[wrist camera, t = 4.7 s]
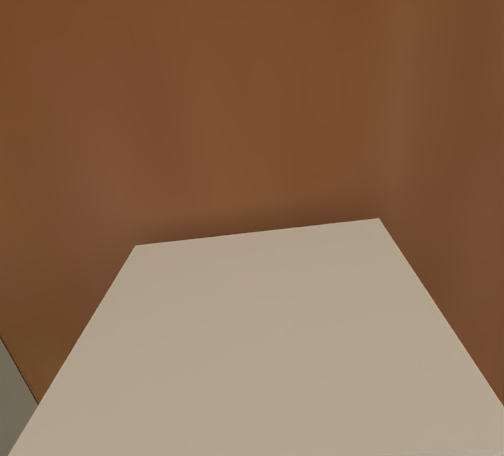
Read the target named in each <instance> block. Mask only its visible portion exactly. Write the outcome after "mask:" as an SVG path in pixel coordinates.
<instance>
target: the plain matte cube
mask: <svg viewBox="0 0 504 456" xmlns="http://www.w3.org/2000/svg"><path fill="white" fill-rule="evenodd" d="M37 407H38V404H37V402H36V401H35V399H34V397H33V395H32V393H31V392H30V390H29V388H28V386H27V385H26V383H25V381H24V379H23V378H22V376H21V374H20V372H19V370H18V369H17V367H16V365H15V363H14V362H13V360H12V358H11V356H10V354H9V353H8V351H7V349H6V347H5V346H4V344H3V342H2V340H1V339H0V456H8V455H9V453H10V451H11V450H12V448H13V446H14V445H15V443H16V442H17V440H18V438H19V437H20V435H21V433H22V432H23V430H24V428H25V427H26V425H27V423H28V422H29V420H30V418H31V417H32V415H33V414H34V412H35V410H36V409H37Z"/></svg>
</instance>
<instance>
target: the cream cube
mask: <svg viewBox="0 0 504 456" xmlns="http://www.w3.org/2000/svg"><path fill="white" fill-rule="evenodd" d="M8 456H504V407H503V405H502V404H501V402H500V401H499V399H498V398H497V396H496V395H495V393H494V392H493V390H492V388H491V387H490V385H489V384H488V382H487V381H486V379H485V378H484V376H483V375H482V373H481V372H480V370H479V369H478V367H477V366H476V364H475V363H474V361H473V360H472V358H471V357H470V355H469V354H468V352H467V351H466V349H465V348H464V346H463V345H462V343H461V342H460V340H459V339H458V337H457V336H456V334H455V333H454V331H453V330H452V328H451V327H450V325H449V324H448V322H447V321H446V319H445V317H444V316H443V314H442V313H441V311H440V310H439V308H438V307H437V305H436V304H435V302H434V301H433V299H432V298H431V296H430V295H429V293H428V292H427V290H426V289H425V287H424V286H423V284H422V283H421V281H420V280H419V278H418V277H417V275H416V274H415V272H414V271H413V269H412V268H411V266H410V265H409V263H408V262H407V260H406V259H405V257H404V256H403V254H402V253H401V251H400V250H399V248H398V247H397V245H396V243H395V242H394V240H393V239H392V237H391V236H390V234H389V233H388V231H387V230H386V228H385V227H384V225H383V224H382V222H381V221H380V219H379V218H377V219H368V220H359V221H351V222H342V223H333V224H324V225H315V226H306V227H297V228H288V229H279V230H270V231H261V232H252V233H243V234H235V235H226V236H217V237H208V238H199V239H190V240H181V241H172V242H163V243H154V244H145V245H136V246H135V247H134V249H133V250H132V252H131V254H130V255H129V257H128V259H127V260H126V262H125V264H124V265H123V267H122V268H121V270H120V272H119V273H118V275H117V277H116V278H115V280H114V282H113V283H112V285H111V287H110V288H109V290H108V292H107V293H106V295H105V297H104V298H103V300H102V301H101V303H100V305H99V306H98V308H97V310H96V311H95V313H94V315H93V316H92V318H91V320H90V321H89V323H88V325H87V326H86V328H85V329H84V331H83V333H82V334H81V336H80V338H79V339H78V341H77V343H76V344H75V346H74V348H73V349H72V351H71V353H70V354H69V356H68V357H67V359H66V361H65V362H64V364H63V366H62V367H61V369H60V371H59V372H58V374H57V376H56V377H55V379H54V381H53V382H52V384H51V385H50V387H49V389H48V390H47V392H46V394H45V395H44V397H43V399H42V400H41V402H40V404H39V405H38V407H37V409H36V410H35V412H34V414H33V415H32V417H31V418H30V420H29V422H28V423H27V425H26V427H25V428H24V430H23V432H22V433H21V435H20V437H19V438H18V440H17V442H16V443H15V445H14V446H13V448H12V450H11V451H10V453H9V455H8Z"/></svg>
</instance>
